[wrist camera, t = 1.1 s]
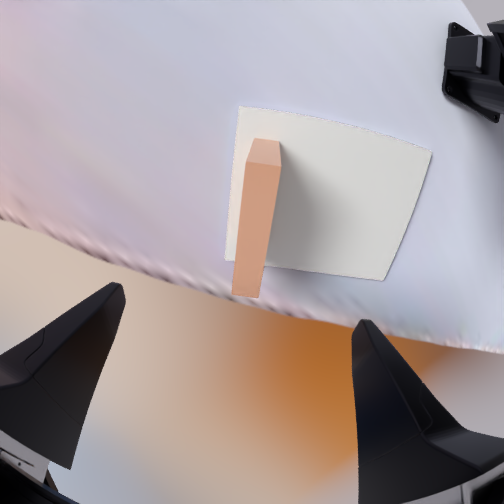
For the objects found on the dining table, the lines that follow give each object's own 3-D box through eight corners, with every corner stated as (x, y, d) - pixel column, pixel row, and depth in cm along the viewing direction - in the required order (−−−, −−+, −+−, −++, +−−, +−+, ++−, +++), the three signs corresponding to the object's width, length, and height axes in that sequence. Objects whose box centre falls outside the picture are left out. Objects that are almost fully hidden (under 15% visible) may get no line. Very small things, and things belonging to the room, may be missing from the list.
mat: (429, 150, 16) (432, 151, 16) (381, 277, 23) (383, 280, 23) (240, 105, 16) (239, 106, 16) (225, 256, 23) (224, 259, 22)
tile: (279, 141, 17) (282, 166, 12) (263, 244, 21) (259, 298, 16) (254, 137, 17) (245, 161, 12) (241, 241, 21) (231, 294, 16)
